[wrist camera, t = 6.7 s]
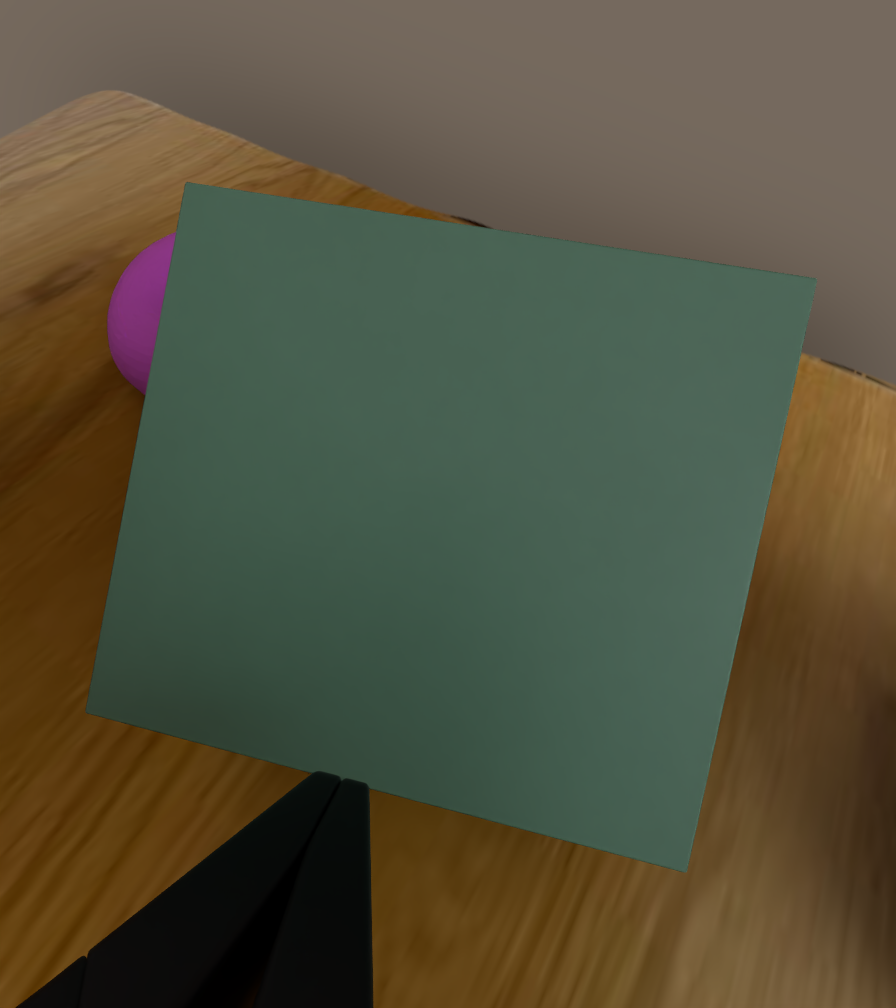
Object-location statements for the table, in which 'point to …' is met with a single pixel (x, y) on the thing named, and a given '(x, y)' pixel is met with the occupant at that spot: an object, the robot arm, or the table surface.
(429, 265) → the lid
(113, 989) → the robot arm
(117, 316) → the donut
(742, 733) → the table surface
